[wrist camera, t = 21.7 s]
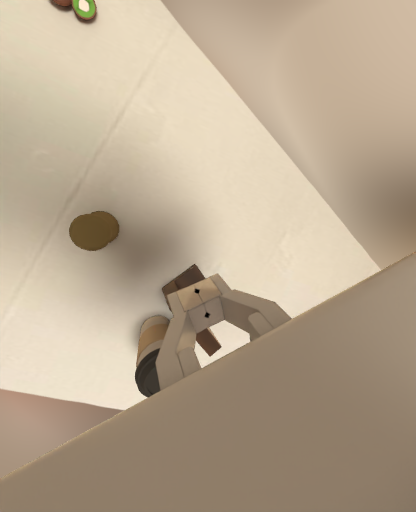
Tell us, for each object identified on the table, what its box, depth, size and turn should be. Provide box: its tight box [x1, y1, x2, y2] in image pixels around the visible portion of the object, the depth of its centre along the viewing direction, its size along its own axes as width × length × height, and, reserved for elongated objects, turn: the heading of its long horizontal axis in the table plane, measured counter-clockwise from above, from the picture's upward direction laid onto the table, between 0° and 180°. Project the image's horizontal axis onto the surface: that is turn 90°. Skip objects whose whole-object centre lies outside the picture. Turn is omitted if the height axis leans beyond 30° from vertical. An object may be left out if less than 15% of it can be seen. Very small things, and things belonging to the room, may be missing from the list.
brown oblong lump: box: [69, 211, 119, 251], centre depth 31 cm, size 6×6×11 cm
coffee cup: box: [135, 316, 170, 397], centre depth 37 cm, size 9×9×15 cm
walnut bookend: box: [162, 264, 222, 356], centre depth 41 cm, size 9×14×10 cm, turn 33°
